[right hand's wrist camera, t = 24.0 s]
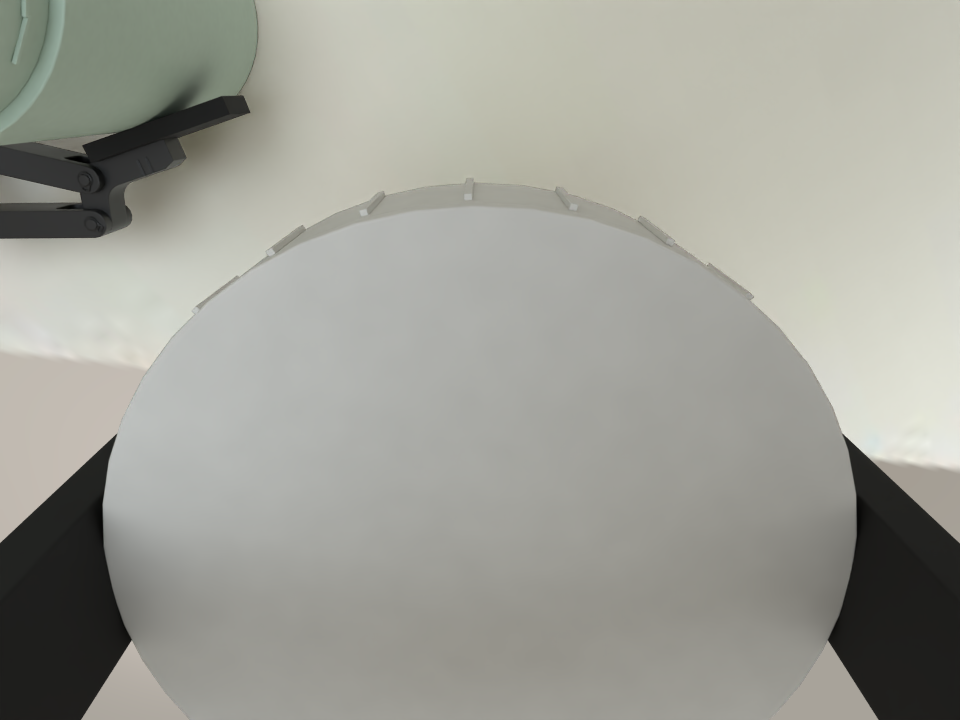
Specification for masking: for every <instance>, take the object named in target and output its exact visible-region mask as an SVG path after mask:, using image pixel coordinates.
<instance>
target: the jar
mask: <svg viewBox="0 0 960 720" xmlns="http://www.w3.org/2000/svg"><path fill="white" fill-rule="evenodd" d="M257 35H258V25H257V15H256V9H255V4H254V0H0V145H9V144H18V143H27V142H36V141H45V140H54V139H63V138H72V137H81V136H91V135H100V134H109V133H118V132H122V131H124V130H127V129H130V128H133V127H136V126H139V125H141V124H144V123H147V122H150V121H153V120H155V119H158V118H161V117H164V116H167V115H170V114H172V113H175V112H178V111H181V110H184V109H186V108H189V107H192V106H195V105H198V104H200V103H203V102H206V101H209V100H212V99H215V98H217V97H220V96H236V95H237V94H238V93H239V92H240V90H241V89H242V87H243V85H244V84H245V82H246V80H247V78H248V76H249V73H250V71H251V69H252V65H253V62H254V58H255V54H256V47H257Z"/></svg>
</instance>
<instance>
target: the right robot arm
mask: <svg viewBox="0 0 960 720" xmlns="http://www.w3.org/2000/svg"><path fill="white" fill-rule="evenodd" d="M116 437H117V434H116V435H115V436H114V437H113V438H112V439H111V440H110V441H109V442H108V443H107V444H105V445H104V446H103V447H102V448H101V449H100V450H99V451H98V452H97V453H96V454H95V455H94V456H93V457H92V458H91V459H89V460H88V461H87V462H86V463H85V464H84V465H83V466H82V467H81V468H80V469H79V470H78V471H77V472H76V473H75V474H73V475H72V476H71V477H70V478H69V479H68V480H67V481H66V482H65V483H64V484H63V485H62V486H61V487H60V488H59V489H57V490H56V491H55V492H54V493H53V494H52V495H51V496H50V497H49V498H48V499H47V500H46V501H45V502H44V503H42V504H41V505H40V506H39V507H38V508H37V509H36V510H35V511H34V512H33V513H32V514H31V515H30V516H29V517H28V518H26V519H25V520H24V521H23V522H22V523H21V524H20V525H19V526H18V527H17V528H16V529H15V530H14V531H13V532H12V533H10V534H9V535H8V536H7V537H6V538H5V539H4V540H3V541H2V542H1V543H0V720H81V719H82V717H83V716H84V714H85V713H86V711H87V709H88V708H89V706H90V705H91V703H92V702H93V700H94V698H95V697H96V695H97V694H98V692H99V691H100V689H101V687H102V686H103V684H104V683H105V681H106V680H107V678H108V676H109V675H110V673H111V672H112V670H113V669H114V667H115V665H116V664H117V662H118V661H119V659H120V658H121V656H122V654H123V653H124V651H125V650H126V648H127V647H128V645H129V644H130V642H131V640H132V639H131V637H130V635H129V633H128V631H127V629H126V627H125V625H124V623H123V620H122V617H121V614H120V611H119V608H118V606H117V603H116V599H115V595H114V592H113V588H112V584H111V579H110V575H109V570H108V566H107V562H106V557H105V551H104V540H103V499H104V492H105V485H106V478H107V471H108V463H109V459H110V456H111V453H112V449H113V446H114V443H115V440H116ZM843 437H844V440H845V443H846V446H847V448H848V452H849V458H850V463H851V469H852V474H853V480H854V485H855V490H856V517H857V538H856V545H855V552H854V559H853V564H852V568H851V573H850V577H849V581H848V585H847V589H846V593H845V597H844V601H843V604H842V608H841V611H840V615H839V617H838V619H837V621H836V623H835V625H834V628H833V630H832V632H831V634H830V636H829V638H828V641H829V643H830V644H831V646H832V647H833V649H834V650H835V652H836V653H837V655H838V657H839V658H840V660H841V661H842V663H843V665H844V666H845V668H846V669H847V671H848V672H849V674H850V676H851V677H852V679H853V680H854V682H855V683H856V685H857V687H858V688H859V690H860V691H861V693H862V694H863V696H864V697H865V699H866V701H867V702H868V704H869V705H870V707H871V708H872V710H873V712H874V713H875V715H876V716H877V718H878V719H879V720H960V543H959V542H958V541H957V540H955V539H954V538H953V537H952V536H951V535H950V534H949V533H948V532H947V531H946V530H945V529H944V528H943V527H942V526H941V525H939V524H938V523H937V522H936V521H935V520H934V519H933V518H932V517H931V516H930V515H929V514H928V513H927V512H926V511H925V510H923V509H922V508H921V507H920V506H919V505H918V504H917V503H916V502H915V501H914V500H913V499H912V498H911V497H910V496H908V495H907V494H906V493H905V492H904V491H903V490H902V489H901V488H900V487H899V486H898V485H897V484H896V483H895V482H894V481H892V480H891V479H890V478H889V477H888V476H887V475H886V474H885V473H884V472H883V471H882V470H881V469H880V468H879V467H878V466H876V465H875V464H874V463H873V462H872V461H871V460H870V459H869V458H868V457H867V456H866V455H865V454H864V453H863V452H862V451H860V450H859V449H858V448H857V447H856V446H855V445H854V444H853V443H852V442H851V441H850V440H849V439H848V438H847V437H846V436H844V435H843Z"/></svg>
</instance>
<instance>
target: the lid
mask: <svg viewBox="0 0 960 720" xmlns="http://www.w3.org/2000/svg"><path fill="white" fill-rule="evenodd" d="M674 242H675V240H673V239H672V238H671V237H669V236H668V235H667V234H665V233H664V232H663V231H661V230H660V229H659V228H657V227H656V226H655V225H653V224H652V223H651V222H649V221H648V220H647V219H645V218H644V217H642V216H640V217H639V219H638V221H637V220H635V219H633V218H631V217H629V216H627V215H625V214H623V213H621V212H619V211H617V210H615V209H612V208H609V207H606V206H603V205H600V204H597V203H594V202H591V201H588V200H585V199H582V198H579V197H576V196H573V195H570V194H568V193H567V192H566V191H565V189H564V188H562V187H556V191H550V190H545V189H540V188H534V187H529V186H523V185H508V184H488V183H473V178H467V179H466V183H465V184H453V185H441V186H430V187H423V188H418V189H414V190H409V191H405V192H400V193H396V194H391V195H387V196H385V194H384V191H382V192H379V193H377V194H376V195H375V196H374V197H373V198H372V199H371V200H370V201H368V202H365V203H362V204H360V205H357V206H354V207H352V208H349V209H346V210H344V211H341V212H338V213H336V214H334V215H332V216H330V217H328V218H326V219H324V220H323V221H321V222H319V223H317V224H315V225H313V226H311V227H310V228H308V229H305V227H304V226H303V225H302V226H300V227H298V228H297V229H295V230H294V231H293V232H291V233H290V234H289V235H287V236H286V237H285V238H283V239H282V240H280V241H279V242H278V243H276V244H275V245H274V246H272V247H271V248H270V249H268V250H267V251H266V253H267V255H268V256H267V257H265V258H264V259H263V260H261V261H260V262H259V263H257V264H256V265H255V266H253V267H252V268H251V269H249V270H248V271H247V272H246V273H244V274H243V275H242V276H240V277H238V276H236V277H235V278H233V279H232V280H231V281H229V282H228V283H227V284H225V285H224V286H223V287H221V288H220V289H218V290H217V291H216V292H214V293H213V294H212V295H210V296H209V297H208V298H206V299H205V300H204V301H202V302H201V303H200V304H198V305H197V306H196V307H195V308H194V309H193V310H192V312H193V313H194V314H195V315H194V316H193V317H192V318H191V319H190V320H189V321H188V322H187V323H186V324H185V325H184V326H183V327H182V328H181V329H180V330H179V331H178V332H177V333H176V334H175V335H174V336H173V337H172V338H171V339H170V341H169V342H168V343H167V345H166V346H165V347H164V349H163V350H162V352H161V353H160V354H159V356H158V357H157V358H156V360H155V361H154V363H153V364H152V365H151V367H150V368H149V370H148V371H147V372H146V374H145V375H144V376H143V378H142V380H141V382H140V384H139V386H138V388H137V390H136V392H135V394H134V396H133V398H132V400H131V402H130V404H129V406H128V408H127V410H126V412H125V414H124V416H123V418H122V421H121V424H120V427H119V430H118V433H117V437H116V440H115V443H114V446H113V449H112V453H111V456H110V459H109V463H108V471H107V478H106V485H105V492H104V499H103V540H104V551H105V557H106V562H107V566H108V570H109V575H110V579H111V584H112V588H113V592H114V595H115V599H116V603H117V606H118V608H119V611H120V614H121V617H122V620H123V623H124V625H125V627H126V629H127V631H128V633H129V635H130V637H131V639H132V641H133V643H134V645H135V647H136V649H137V651H138V653H139V655H140V657H141V658H142V660H143V662H144V663H145V665H146V666H147V667H148V669H149V670H150V672H151V673H152V675H153V676H154V678H155V679H156V680H157V682H158V683H159V685H160V686H161V688H162V689H163V690H164V692H165V693H166V694H167V695H168V696H169V698H170V699H171V700H172V701H173V702H174V703H175V704H176V705H177V706H178V708H179V709H180V710H181V711H182V712H183V713H184V714H185V715H186V716H187V717H188V719H189V720H770V719H771V718H772V717H773V716H774V715H775V714H776V713H777V712H778V711H779V710H780V708H781V707H782V706H783V705H784V704H785V703H786V701H787V700H788V699H789V698H790V697H791V695H792V694H793V693H794V692H795V691H796V690H797V688H798V687H799V686H800V685H801V683H802V682H803V680H804V679H805V677H806V676H807V674H808V673H809V671H810V670H811V668H812V666H813V665H814V663H815V662H816V660H817V659H818V657H819V656H820V654H821V653H822V651H823V649H824V647H825V645H826V642H827V640H828V638H829V636H830V634H831V632H832V630H833V628H834V625H835V623H836V621H837V619H838V617H839V615H840V611H841V608H842V604H843V601H844V597H845V593H846V589H847V585H848V581H849V577H850V573H851V568H852V564H853V559H854V552H855V545H856V538H857V517H856V490H855V485H854V480H853V474H852V469H851V463H850V458H849V452H848V448H847V446H846V443H845V440H844V437H843V434H842V432H841V429H840V426H839V423H838V421H837V418H836V415H835V412H834V409H833V407H832V405H831V403H830V402H829V400H828V398H827V396H826V394H825V393H824V391H823V389H822V387H821V385H820V384H819V382H818V380H817V378H816V376H815V375H814V373H813V371H812V369H811V367H810V366H809V364H808V363H807V361H806V360H805V359H804V358H803V357H802V356H801V355H800V353H799V352H798V351H797V349H796V348H795V347H794V346H793V344H792V343H791V342H790V341H789V339H788V338H787V337H786V335H785V334H784V333H783V332H782V330H781V329H780V328H779V327H778V326H777V325H776V324H775V323H774V322H773V321H772V320H770V319H769V318H768V317H767V316H766V315H765V314H764V313H763V312H762V311H761V310H760V309H759V308H758V307H757V306H755V305H754V304H753V303H752V302H751V301H750V300H751V299H752V298H753V297H754V296H753V295H752V294H751V293H750V292H748V291H747V290H746V289H744V288H743V287H741V286H740V285H739V284H737V283H736V282H735V281H733V280H732V279H731V278H729V277H728V276H726V275H725V274H724V273H722V272H721V271H720V270H718V269H717V268H716V267H714V266H713V265H712V264H710V263H709V264H708V265H707V266H706V265H704V264H703V263H702V262H701V261H699V260H698V259H697V258H695V257H694V256H693V255H691V254H690V253H688V252H687V251H685V250H684V249H683V248H681V247H680V246H678V245H677V244H675V243H674Z"/></svg>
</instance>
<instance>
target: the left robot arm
mask: <svg viewBox="0 0 960 720" xmlns="http://www.w3.org/2000/svg"><path fill="white" fill-rule="evenodd" d="M247 113H250V111H249V108H248V106H247V103H246V101H245V99H244V96H220V97H217V98H215V99H212V100H209V101H206V102H203V103H200V104H198V105H195V106H192V107H189V108H186V109H184V110H181V111H178V112H175V113H172V114H170V115H167V116H164V117H161V118H158V119H155V120H153V121H150V122H147V123H144V124H141V125H139V126H136V127H133V128H130V129H127V130H124V131H122V132H119V133H116V134H113V135H110V136H108V137H105V138H102V139H99V140H96V141H93V142H91V143H88V144H85V145H82V146H83V148H84V150H85V152H86V154H82V153H78V152H74V151H69V150H65V149H61V148H57V147H52V146H48V145H44V144H39V143H35V142H27V143H18V144H9V145H0V174H1V175H5V176H10V177H14V178H18V179H23V180H27V181H32V182H36V183H40V184H45V185H49V186H53V187H58V188H62V189H67V190H71V191H75V192H80V194H81V200H82V203H0V239H5V238H97V237H101V236H104V235H106V234H109V233H111V232H114V231H117V230H119V229H122V228H125V227H127V226H128V225H129V224H130V223H131V221H132V214H131V211H130V209H129V208H128V207H127V206H126V205H125V200H124V191H125V188H126V187H127V185H128V184H129V183H131V182H133V181H136V180H139V179H142V178H145V177H147V176H150V175H153V174H156V173H159V172H162V171H165V170H168V169H171V168H174V167H176V166H179V165H180V164H181V163H182V162H183V161H184V160H185V159H186V156H185V153H184V151H183V149H182V147H181V145H180V143H179V140H178V138H179V137H182V136H185V135H187V134H190V133H193V132H196V131H199V130H202V129H205V128H207V127H210V126H213V125H216V124H219V123H222V122H225V121H227V120H230V119H233V118H236V117H239V116H242V115H245V114H247Z"/></svg>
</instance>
